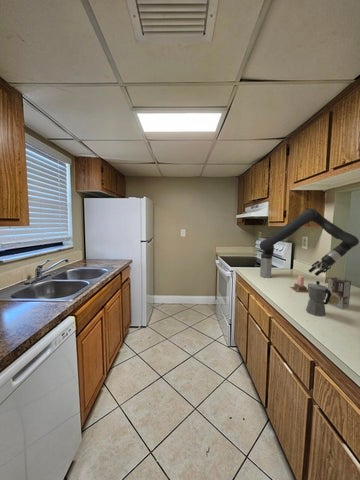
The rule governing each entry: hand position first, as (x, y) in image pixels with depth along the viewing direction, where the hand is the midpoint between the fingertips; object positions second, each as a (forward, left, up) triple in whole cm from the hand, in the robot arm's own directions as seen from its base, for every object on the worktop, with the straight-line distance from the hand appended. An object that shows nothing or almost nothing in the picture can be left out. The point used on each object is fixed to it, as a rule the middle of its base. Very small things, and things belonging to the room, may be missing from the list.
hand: (312, 273), depth 146 cm
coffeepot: (+37, -15, -14) cm, 42 cm away
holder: (0, -8, -13) cm, 15 cm away
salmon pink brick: (0, -8, -12) cm, 15 cm away
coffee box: (+24, +3, -14) cm, 28 cm away
